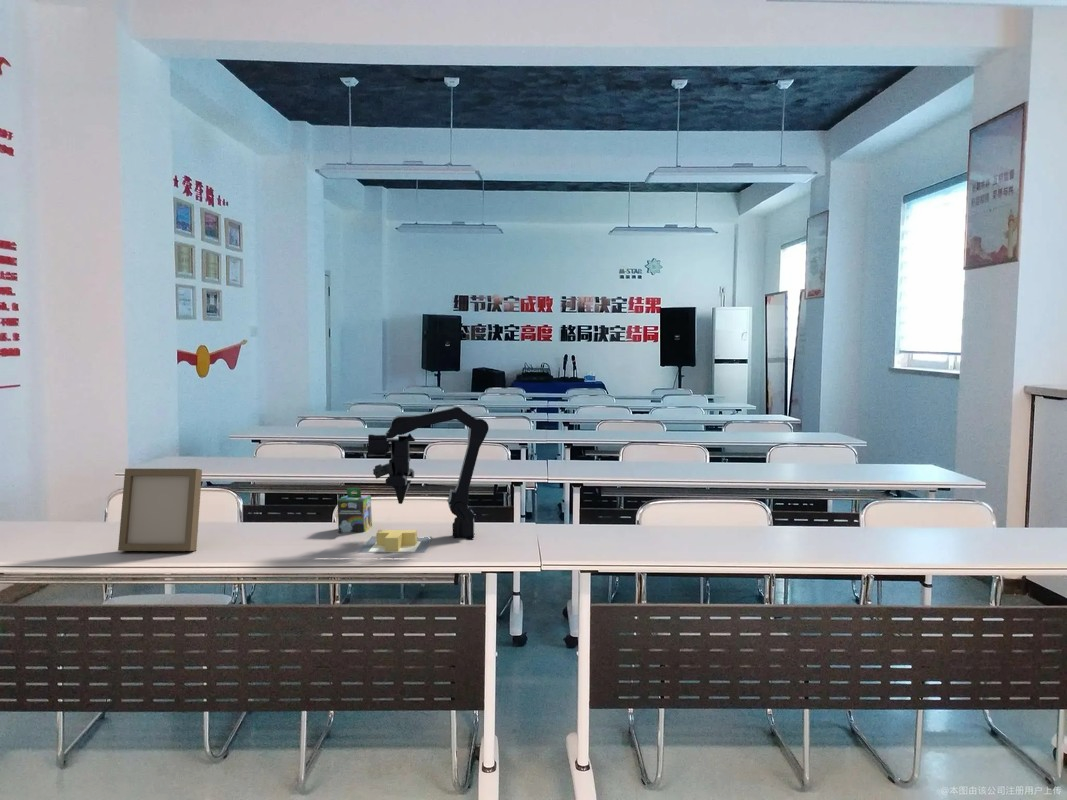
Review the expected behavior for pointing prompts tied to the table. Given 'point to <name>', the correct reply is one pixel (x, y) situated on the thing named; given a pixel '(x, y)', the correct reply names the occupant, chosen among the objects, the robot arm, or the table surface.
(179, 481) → the photo frame
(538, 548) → the table surface
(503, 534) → the table surface
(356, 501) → the chalk box
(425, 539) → the mat
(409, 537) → the T block
